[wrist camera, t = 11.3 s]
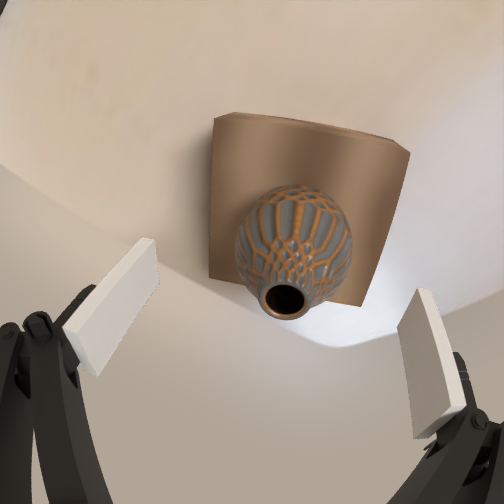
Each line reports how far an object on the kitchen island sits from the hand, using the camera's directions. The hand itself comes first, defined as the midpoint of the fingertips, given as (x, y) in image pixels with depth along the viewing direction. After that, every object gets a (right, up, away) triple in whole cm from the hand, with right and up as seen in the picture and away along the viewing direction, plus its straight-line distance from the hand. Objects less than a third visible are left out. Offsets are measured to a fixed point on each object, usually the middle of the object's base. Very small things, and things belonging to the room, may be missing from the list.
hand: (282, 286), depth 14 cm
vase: (+2, +4, +7) cm, 8 cm away
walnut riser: (+3, +6, +11) cm, 13 cm away
